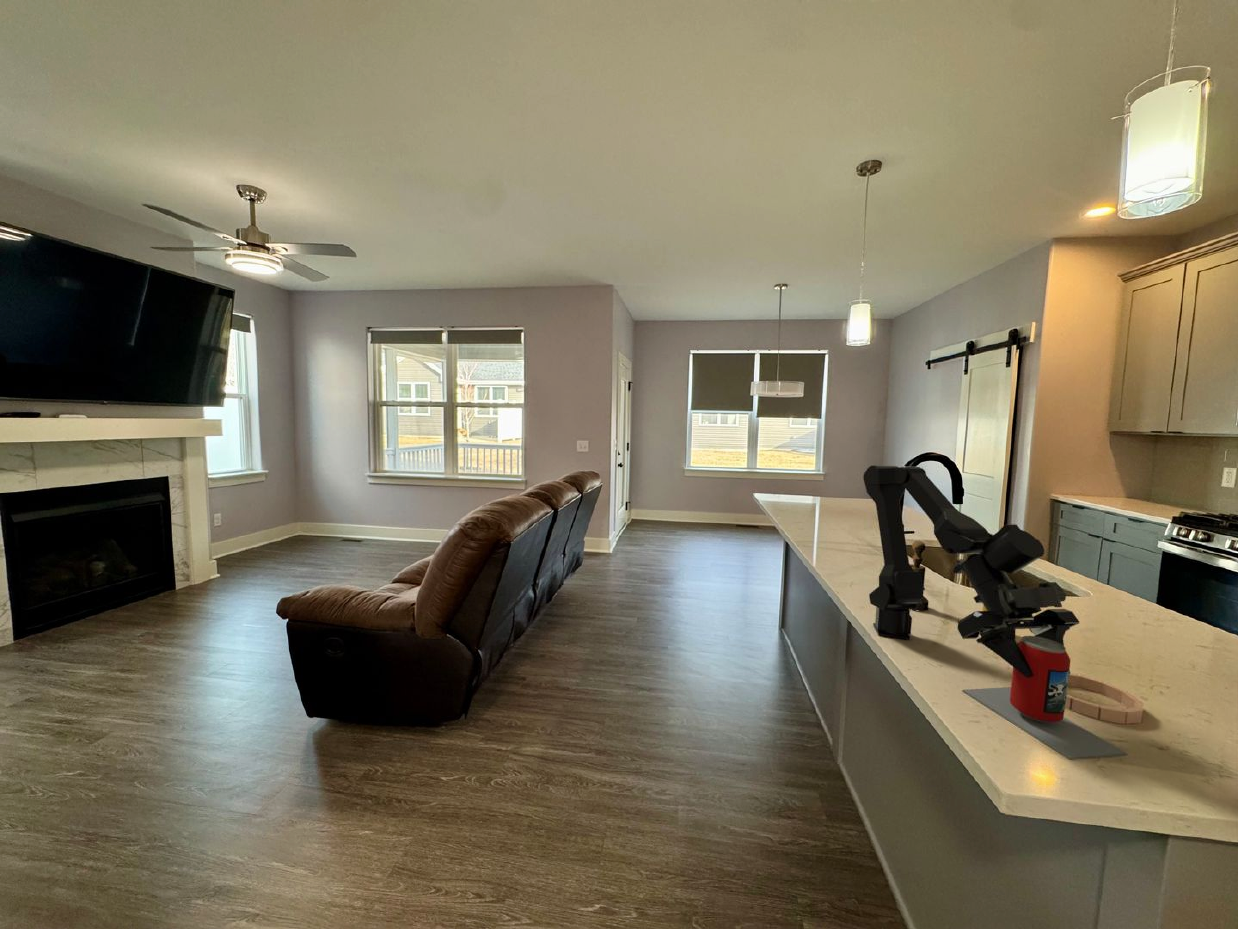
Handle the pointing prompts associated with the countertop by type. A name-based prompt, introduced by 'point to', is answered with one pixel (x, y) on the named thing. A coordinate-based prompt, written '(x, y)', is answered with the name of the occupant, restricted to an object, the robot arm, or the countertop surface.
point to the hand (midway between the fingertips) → (1048, 676)
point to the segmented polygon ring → (1104, 712)
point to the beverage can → (1041, 680)
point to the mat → (1047, 727)
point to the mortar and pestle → (919, 569)
